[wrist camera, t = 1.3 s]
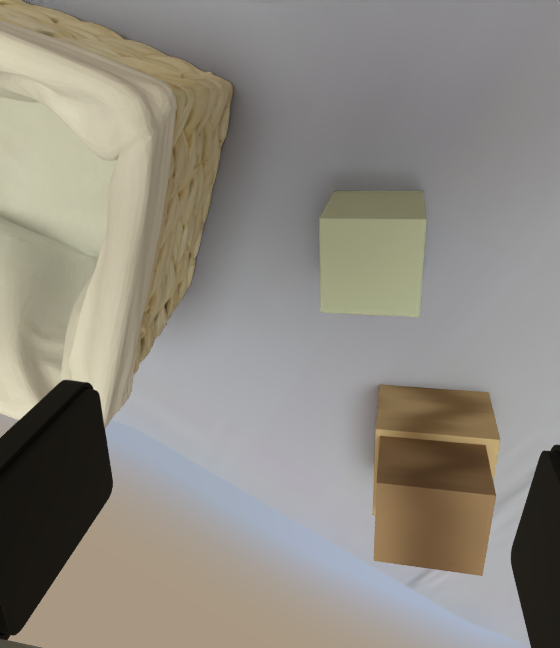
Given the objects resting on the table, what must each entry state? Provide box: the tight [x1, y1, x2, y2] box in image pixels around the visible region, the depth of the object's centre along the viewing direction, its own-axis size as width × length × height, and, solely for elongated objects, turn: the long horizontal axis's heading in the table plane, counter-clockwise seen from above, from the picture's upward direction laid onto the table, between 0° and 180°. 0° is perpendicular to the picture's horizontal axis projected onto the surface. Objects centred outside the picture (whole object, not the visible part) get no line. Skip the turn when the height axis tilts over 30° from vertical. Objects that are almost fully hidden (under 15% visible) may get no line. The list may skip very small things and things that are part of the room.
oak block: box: [373, 385, 500, 515], centre depth 34 cm, size 7×7×5 cm
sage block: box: [319, 191, 427, 317], centre depth 28 cm, size 5×5×6 cm
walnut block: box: [374, 436, 496, 576], centre depth 30 cm, size 6×6×4 cm
